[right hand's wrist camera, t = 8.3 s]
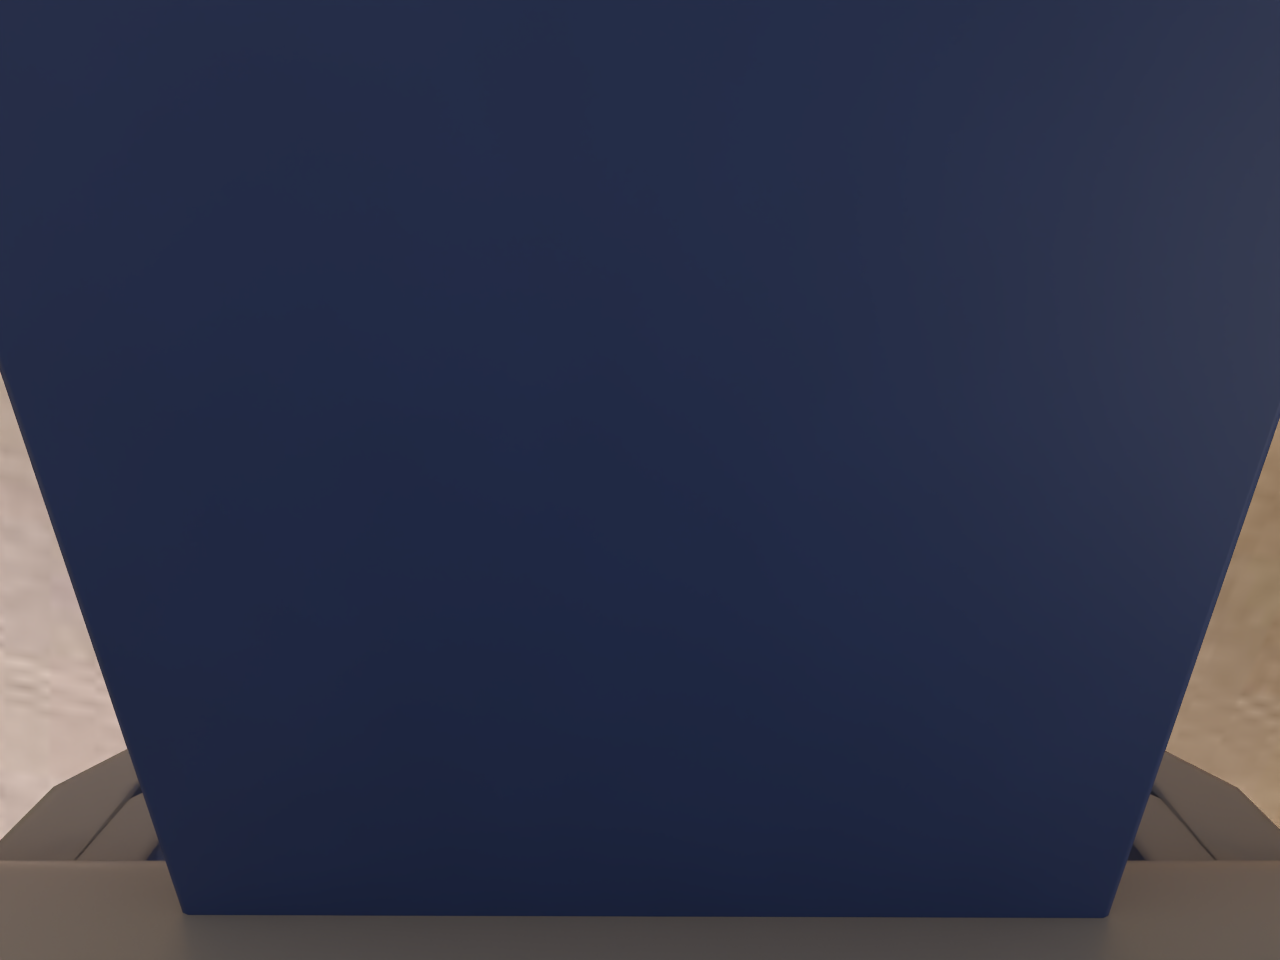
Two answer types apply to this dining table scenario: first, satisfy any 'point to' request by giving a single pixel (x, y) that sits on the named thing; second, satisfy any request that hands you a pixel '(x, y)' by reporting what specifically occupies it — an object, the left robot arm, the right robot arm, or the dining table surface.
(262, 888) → the box
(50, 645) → the dining table surface
